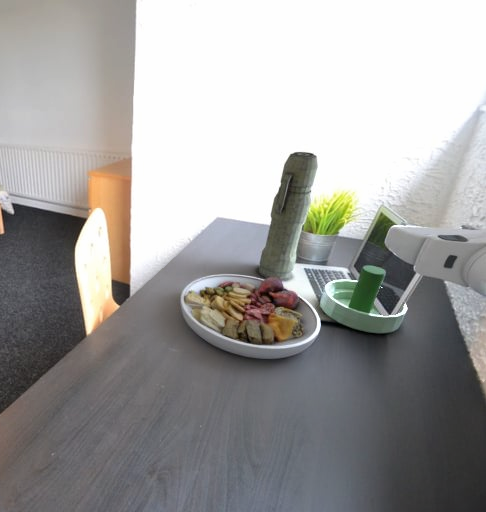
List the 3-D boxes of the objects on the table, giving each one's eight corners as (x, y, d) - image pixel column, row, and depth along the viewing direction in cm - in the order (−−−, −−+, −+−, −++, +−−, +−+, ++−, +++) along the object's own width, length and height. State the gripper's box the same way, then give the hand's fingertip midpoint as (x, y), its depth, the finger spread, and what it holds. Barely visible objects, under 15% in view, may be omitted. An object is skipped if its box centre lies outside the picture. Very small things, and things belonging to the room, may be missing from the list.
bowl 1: (275, 390, 69) (285, 359, 66) (153, 319, 90) (156, 291, 87) (336, 326, 86) (346, 298, 83) (221, 278, 107) (225, 254, 104)
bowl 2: (378, 299, 96) (385, 282, 94) (414, 339, 82) (422, 320, 80) (310, 293, 99) (315, 277, 97) (333, 330, 85) (339, 312, 83)
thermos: (299, 272, 109) (332, 152, 93) (279, 285, 103) (311, 159, 87) (270, 261, 116) (296, 148, 100) (249, 273, 109) (274, 154, 93)
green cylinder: (363, 308, 92) (380, 266, 86) (372, 318, 88) (390, 275, 82) (344, 306, 93) (359, 264, 87) (351, 316, 89) (367, 273, 83)
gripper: (589, 248, 52) (511, 214, 64) (421, 237, 56) (377, 208, 68) (564, 286, 55) (493, 247, 67) (406, 273, 59) (366, 239, 71)
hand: (434, 227), depth 67 cm, fingers open, 8 cm apart
